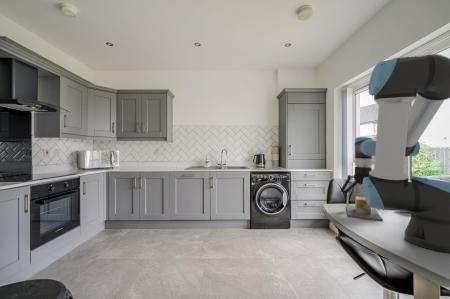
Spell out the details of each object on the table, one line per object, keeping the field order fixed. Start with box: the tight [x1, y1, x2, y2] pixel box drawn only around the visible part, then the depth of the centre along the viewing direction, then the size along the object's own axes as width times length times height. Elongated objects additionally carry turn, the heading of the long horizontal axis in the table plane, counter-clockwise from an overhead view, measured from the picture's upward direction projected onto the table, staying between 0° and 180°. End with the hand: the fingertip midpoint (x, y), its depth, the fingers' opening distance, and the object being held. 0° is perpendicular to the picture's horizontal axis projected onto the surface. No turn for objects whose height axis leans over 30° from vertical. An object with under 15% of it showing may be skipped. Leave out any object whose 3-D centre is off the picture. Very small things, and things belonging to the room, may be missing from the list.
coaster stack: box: [354, 195, 372, 215], centre depth 111 cm, size 6×9×7 cm, turn 152°
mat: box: [345, 205, 384, 222], centre depth 111 cm, size 20×14×1 cm
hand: (362, 207), depth 111 cm, fingers open, 13 cm apart
